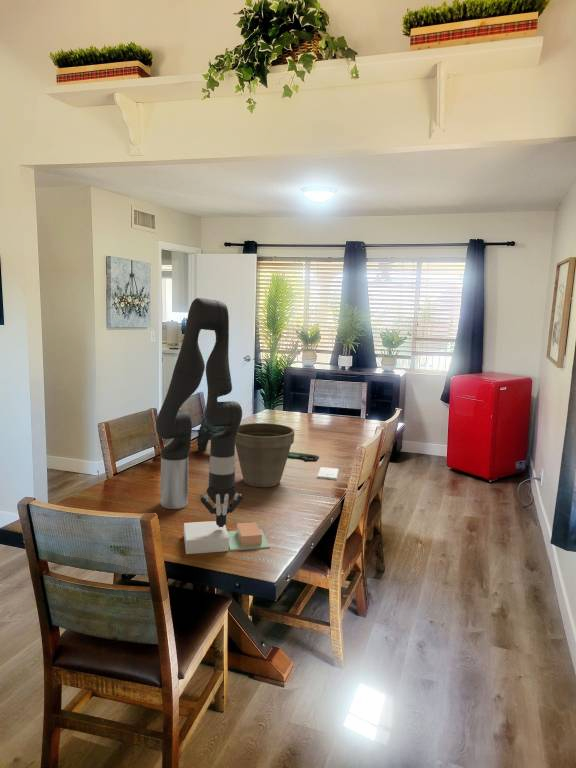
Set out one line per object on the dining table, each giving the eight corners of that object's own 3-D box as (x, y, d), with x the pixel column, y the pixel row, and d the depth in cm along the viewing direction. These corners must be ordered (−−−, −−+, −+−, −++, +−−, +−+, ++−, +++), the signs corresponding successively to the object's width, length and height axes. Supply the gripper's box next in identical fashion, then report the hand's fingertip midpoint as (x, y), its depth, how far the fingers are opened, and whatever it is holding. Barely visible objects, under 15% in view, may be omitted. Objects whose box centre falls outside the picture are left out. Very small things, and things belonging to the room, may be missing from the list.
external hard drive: (338, 472, 224) (336, 481, 212) (319, 470, 225) (316, 479, 213) (338, 468, 224) (336, 477, 212) (320, 466, 225) (317, 475, 213)
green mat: (225, 532, 158) (225, 531, 158) (261, 530, 161) (261, 529, 161) (230, 550, 146) (230, 549, 146) (269, 547, 149) (269, 546, 149)
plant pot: (224, 473, 214) (226, 422, 210) (280, 469, 222) (282, 421, 219) (239, 494, 190) (240, 438, 187) (300, 489, 199) (303, 435, 195)
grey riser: (183, 535, 155) (184, 522, 154) (223, 532, 158) (223, 520, 157) (186, 554, 143) (186, 540, 143) (228, 550, 146) (229, 537, 146)
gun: (281, 456, 238) (287, 451, 248) (281, 459, 238) (287, 453, 248) (315, 460, 234) (320, 455, 244) (315, 463, 234) (319, 457, 244)
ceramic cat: (236, 455, 240) (238, 413, 237) (228, 458, 234) (230, 416, 232) (202, 448, 249) (203, 408, 246) (194, 451, 243) (195, 410, 241)
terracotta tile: (256, 522, 158) (255, 531, 159) (237, 523, 157) (236, 532, 157) (262, 534, 150) (261, 544, 150) (241, 536, 148) (241, 546, 149)
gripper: (242, 464, 153) (241, 519, 156) (198, 466, 150) (197, 522, 153) (246, 472, 146) (244, 530, 149) (200, 474, 143) (198, 533, 145)
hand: (220, 526), depth 151 cm, fingers closed
